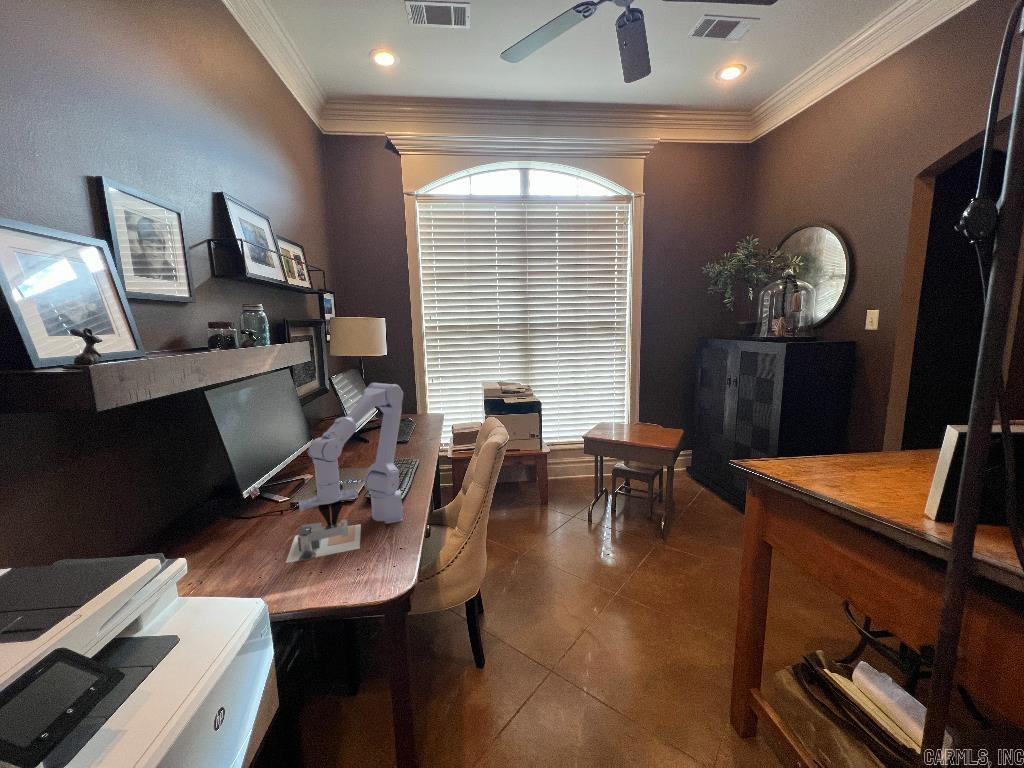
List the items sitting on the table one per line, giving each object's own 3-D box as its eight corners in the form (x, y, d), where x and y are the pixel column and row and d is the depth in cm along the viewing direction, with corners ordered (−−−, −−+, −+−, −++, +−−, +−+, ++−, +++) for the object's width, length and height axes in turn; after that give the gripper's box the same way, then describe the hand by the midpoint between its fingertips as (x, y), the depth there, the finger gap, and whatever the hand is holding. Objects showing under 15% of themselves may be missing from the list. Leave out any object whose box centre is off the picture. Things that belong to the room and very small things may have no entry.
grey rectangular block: (322, 534, 113) (321, 522, 112) (319, 547, 106) (318, 534, 105) (303, 538, 111) (302, 525, 110) (299, 551, 104) (297, 537, 104)
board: (361, 526, 119) (360, 523, 118) (359, 553, 105) (359, 550, 104) (295, 538, 112) (295, 535, 112) (285, 568, 99) (284, 564, 98)
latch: (349, 550, 104) (347, 524, 103) (299, 562, 99) (297, 535, 98) (348, 541, 108) (346, 516, 107) (301, 552, 103) (298, 526, 102)
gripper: (353, 470, 111) (356, 514, 113) (296, 482, 103) (300, 529, 105) (358, 478, 105) (361, 524, 107) (298, 491, 97) (303, 541, 99)
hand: (332, 527), depth 106 cm, fingers closed
